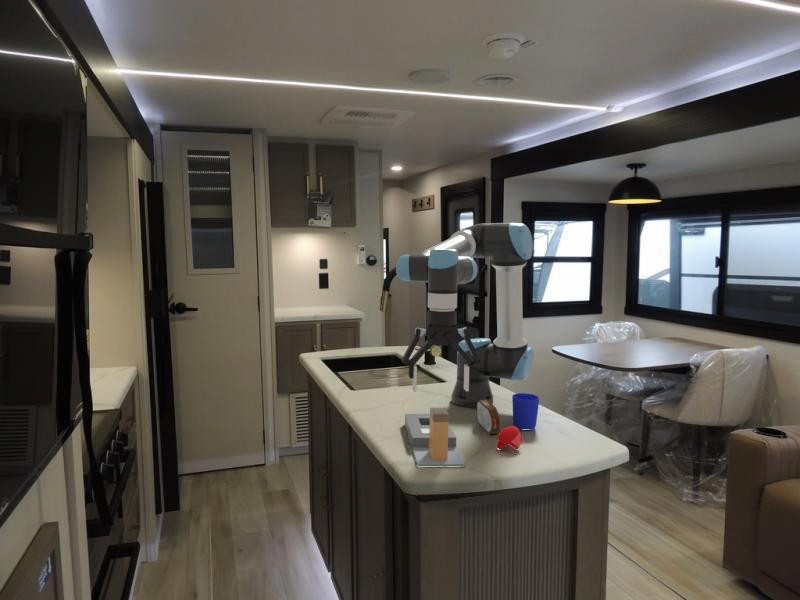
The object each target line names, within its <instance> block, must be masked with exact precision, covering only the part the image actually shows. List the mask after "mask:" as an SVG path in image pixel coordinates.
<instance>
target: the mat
mask: <svg viewBox="0 0 800 600" xmlns="http://www.w3.org/2000/svg"><path fill="white" fill-rule="evenodd" d="M413 453H414V454H413ZM412 454H413V457H414V456H415V457H414V460H415V459H416V460H415V463H416V462H417V464H416V466H417V465H418V466H465V467H466V464H465V462H464V459H463V458H462V456H461V454H460V452H459V450H458V448H457V446H456V447H448V459H447V460H432V458H431V456H430V453H429V447H413V450H412Z"/></svg>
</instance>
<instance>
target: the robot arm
mask: <svg viewBox="0 0 800 600" xmlns="http://www.w3.org/2000/svg"><path fill="white" fill-rule="evenodd" d="M533 244H534V243H533V238H532V233H531V230H530V229H529V227H528V226H527V225H526V224H524V223H521V222H520V223H518V222H517V223H516V222H496V223H495V222H493V223H492V222H490V223H487V222H484V223H483V222H482V223H478V224H474V225H470V226H467V227H465V228H462V229H459V230H458V231H455V232H454V233H453V234H451V236H450V238H448V239H446V240H444V241H442V242H439V243H438V244H436V245H433V246H432V247H429V248H427V249H425V250H423V251H421V252H418V253H416V254H411V253H409V254H403V255H400V256H399V257H398V258H397V262H396V263H395V264H396V265H395V266H396V267H395V273H396V276H397V278H398V279H400V281H404V282H410V283H411V282H412V283H413V282H415V283H428V285H427V286H428V289H427V307H428V308H429V309H428V310H427V320H426V321H427V322H426V323H427V325H426V327H425V328H421V327H420V328H419V326H417V327H415V328H414V333H413V337H412V338H411V341H410V342H409V345H408V346H407V348H406V350H405V352H404V354H403V356H402V358H401V362H402V364H404V365H407V366H408V377H409V379H412V391H413V392H414V393H415V392H416V393H417V392H418V391H417V389H418V388H417V387H418V386H417V385H418V384H417V382H418V381H417V380H418V378H417V377H418V366H417V363H418V362H419V360H420V359H421V358H422V357H423V356H424V355H425V353H426V352H427V351H428V350H429V349H430V348H431V347H432V346H433V345H434V346H443V347H444V346H447V347H448V346H450V345H452V347H454V349H455V350H456V351H457V352H456V355H457V356H456V357H457V358H456V382H455V385H454V386H453V390H452V391H451V392H452V393H451V396H450V397H451V399H450V402H451V403H452V404H454V405H456V406H460V407H463V408H464V407H465V408H472V409H473V408H474V409H477V402H478V401H480V400H486V399H487V400H488V401H489V402H490V403H491V404H493V405H494V395H493V391H492V388H491V385H490V377H491V378H498V379H504V380H510V381H525V380H526V379H527V378H528V377H529V375H530V373H531V369H532V366H533V362H534V349H533V348H532V347H530V346H528V339H526V338H525V337H524V334H523V333H524V331H523V329H524V325H523V324H524V322H523V320H524V318H523V316H524V315H523V269H524V267H525V266H526V265H527V263H528V261H527V260H530V259H531V258H532V256H533V248H534V246H533ZM473 258H480V259H490V265H491V266H492V268H494V269H495V288H496V290H495V291H496V295H495V296H496V324H497V325H496V327H497V331H496V332H497V333H496V334H497V336H496V338H495V339H494V340H493V342H492V341H491V339H490V338H486V337H484V338H483V337H481V338H480V337H476V338H471V337H470V330H469V328H467V327H466V326H465V327H461V328H458V326H457V322H458V321H457V320H458V317H457V315H458V313H457V312H458V311H457V310H456V309H457V308H458V285H466V284H468V283H470V282H472V281H473V280H474V279H475V278H476V277H477V274H478V270H479V268H478V265H477V262H476V261H475V260H474V259H473ZM459 334H460V336H461V337H462V338H463V340H461V341H459V342H457V341H456V340H455V338H456V337H457V336H458V335H459ZM424 335H426V336H427V339H426V340H425V341H424V343H423V344H422V345H421V347H420V348H419V349H418V350H417V351H416V352H415V354H413V352H414V350H415V348H416V346H417V345H418V343H419V341H420V338H421V337H423V336H424ZM412 354H413V356H412ZM411 356H412V357H411Z"/></svg>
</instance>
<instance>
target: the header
mask: <svg viewBox="0 0 800 600" xmlns="http://www.w3.org/2000/svg"><path fill="white" fill-rule="evenodd" d="M404 427H405V430H406V433H407V437H408V439H409V443H411V444H410V447H411V450H412V451H413V447H429V428H430V413H404ZM448 447H456V448H457V436H456V434H455V432H454V431H453V429H452V427H451V425H450V424H449V428H448Z"/></svg>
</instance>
